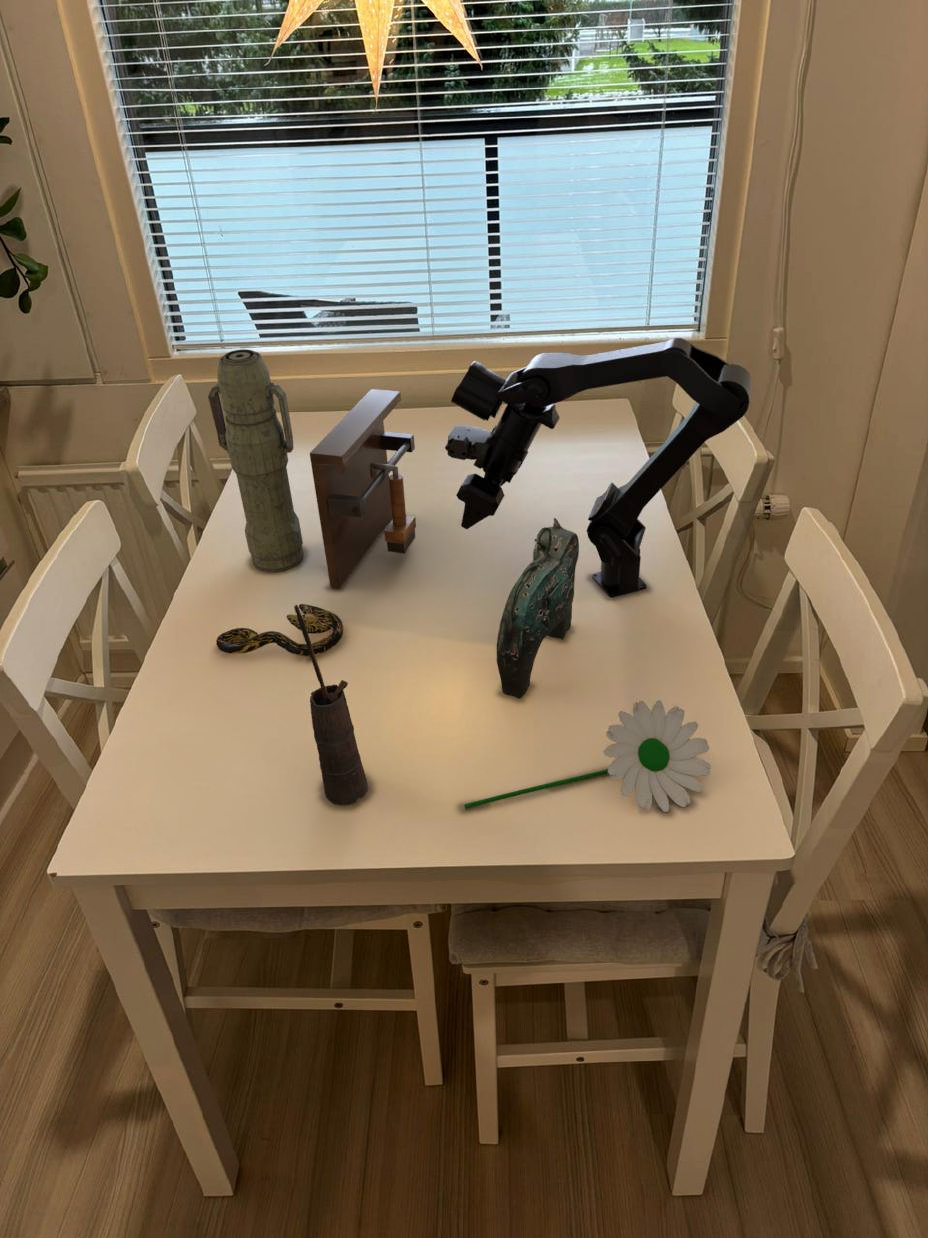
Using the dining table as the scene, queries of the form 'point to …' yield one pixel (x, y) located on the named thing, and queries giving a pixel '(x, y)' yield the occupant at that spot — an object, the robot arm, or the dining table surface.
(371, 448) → the wall shelf
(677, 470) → the robot arm
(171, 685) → the dining table surface
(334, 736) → the butter churn
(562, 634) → the dark green arched piece
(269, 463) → the thermos
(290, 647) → the toy snake
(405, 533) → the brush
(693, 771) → the flower
